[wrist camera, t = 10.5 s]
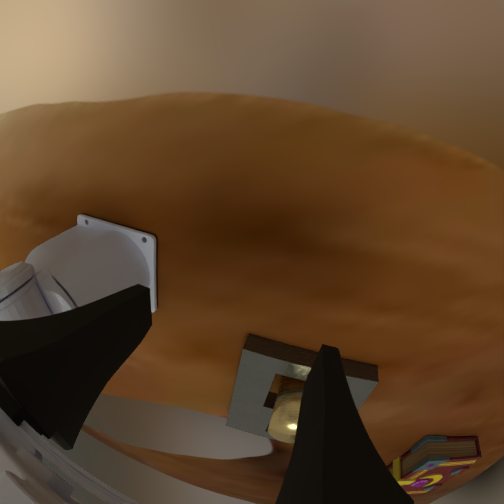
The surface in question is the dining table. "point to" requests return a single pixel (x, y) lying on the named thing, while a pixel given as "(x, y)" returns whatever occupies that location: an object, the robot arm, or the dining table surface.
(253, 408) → the grey plate with cutouts
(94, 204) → the dining table surface
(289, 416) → the brass fitting
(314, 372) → the robot arm
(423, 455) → the decorative book
